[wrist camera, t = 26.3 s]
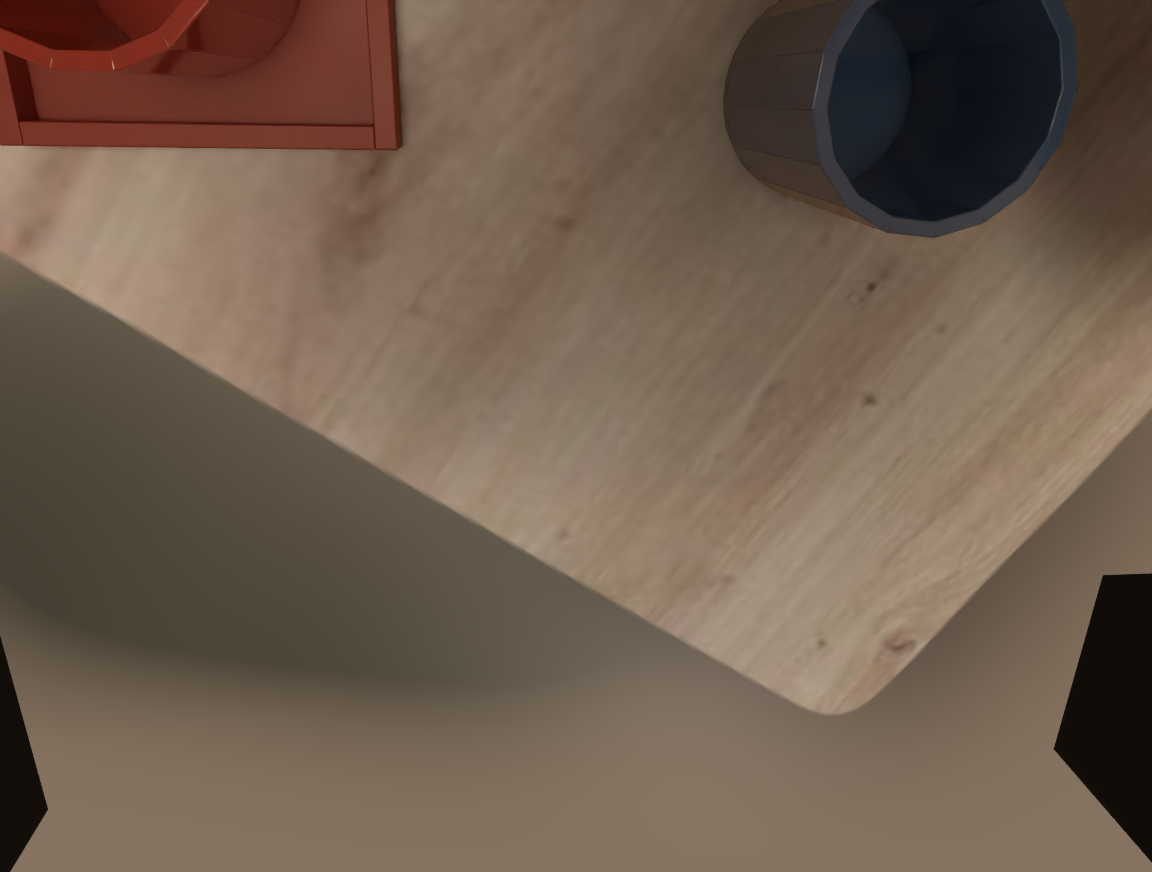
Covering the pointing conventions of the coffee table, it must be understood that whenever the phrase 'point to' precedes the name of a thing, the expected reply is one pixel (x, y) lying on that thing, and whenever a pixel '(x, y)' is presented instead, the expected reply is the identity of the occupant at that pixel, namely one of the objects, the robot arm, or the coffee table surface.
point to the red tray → (228, 94)
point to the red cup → (145, 34)
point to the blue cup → (902, 106)
